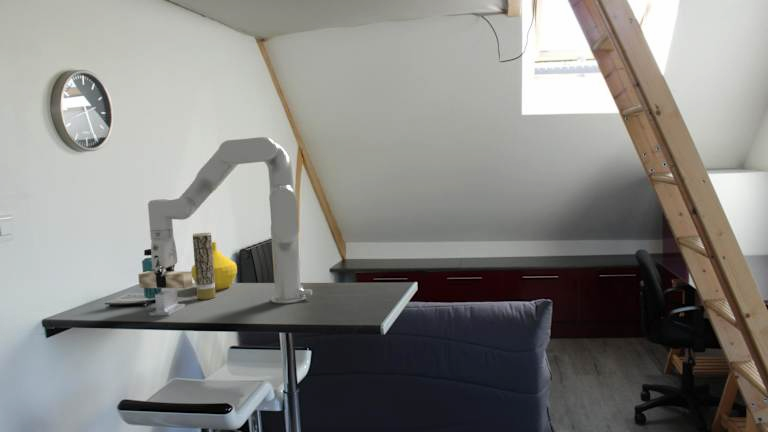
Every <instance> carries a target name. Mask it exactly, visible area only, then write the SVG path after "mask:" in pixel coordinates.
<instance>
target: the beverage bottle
mask: <svg viewBox="0 0 768 432" xmlns="http://www.w3.org/2000/svg"><path fill="white" fill-rule="evenodd" d="M143 253H144V254H143V256H151V248H147V249H144V251H143ZM141 268H142V273H143V272H147V271H153V270H152V259H151V257H146V258H144V259H143V260H142V261H141ZM159 270H160V271H161V269H159ZM162 291H163V290H162V288H143V295H144V298H145V299H146V298H148V300H149V299H151V300H152V299H155V295H156V294H158V293H160V292H162Z"/></svg>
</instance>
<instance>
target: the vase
mask: <svg viewBox="0 0 768 432" xmlns="http://www.w3.org/2000/svg"><path fill="white" fill-rule="evenodd" d="M217 248H218V247H217V242H216V241H212V252H213V266H214V280H215V291H219V290H220V291H221V290H225V289H227V288H229V287H230V286H231V285H232V284H233V282H234V281H235V279H236V276H237V273H238V266H237V263H236V262H235V261H233V260H231V259H230V258H228V257H227V256H225V255H224V254H223V253H222V252H220V251H219V250H218V249H217ZM190 272H192V280H193V282H194V283H195V284H196V274H195V264H193V266H192V267H191V270H190Z"/></svg>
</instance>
